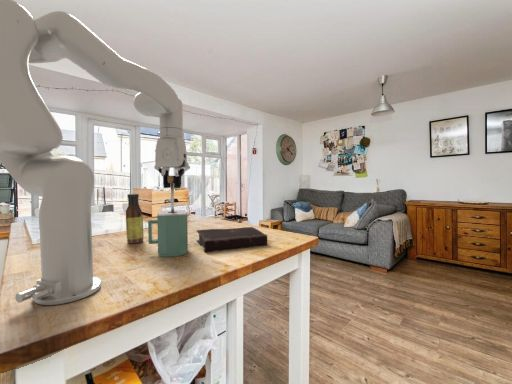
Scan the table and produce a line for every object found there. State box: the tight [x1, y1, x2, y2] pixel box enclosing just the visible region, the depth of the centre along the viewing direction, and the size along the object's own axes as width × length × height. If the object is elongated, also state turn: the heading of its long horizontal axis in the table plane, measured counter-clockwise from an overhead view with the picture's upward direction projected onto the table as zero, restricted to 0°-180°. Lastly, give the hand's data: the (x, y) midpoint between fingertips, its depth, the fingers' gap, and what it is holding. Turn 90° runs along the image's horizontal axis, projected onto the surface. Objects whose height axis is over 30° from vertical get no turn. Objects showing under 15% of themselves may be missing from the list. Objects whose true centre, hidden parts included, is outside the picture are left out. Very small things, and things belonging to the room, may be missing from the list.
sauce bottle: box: [125, 193, 144, 244], centre depth 102 cm, size 6×6×20 cm
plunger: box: [167, 175, 175, 213], centre depth 87 cm, size 7×7×15 cm
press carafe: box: [147, 209, 189, 258], centre depth 88 cm, size 10×13×14 cm
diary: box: [196, 226, 268, 253], centre depth 102 cm, size 19×25×5 cm
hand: (172, 187), depth 87 cm, fingers closed on plunger, 3 cm apart
